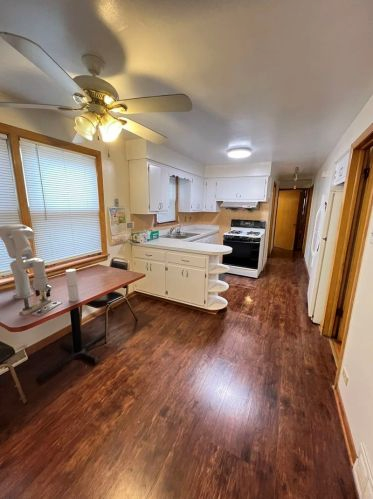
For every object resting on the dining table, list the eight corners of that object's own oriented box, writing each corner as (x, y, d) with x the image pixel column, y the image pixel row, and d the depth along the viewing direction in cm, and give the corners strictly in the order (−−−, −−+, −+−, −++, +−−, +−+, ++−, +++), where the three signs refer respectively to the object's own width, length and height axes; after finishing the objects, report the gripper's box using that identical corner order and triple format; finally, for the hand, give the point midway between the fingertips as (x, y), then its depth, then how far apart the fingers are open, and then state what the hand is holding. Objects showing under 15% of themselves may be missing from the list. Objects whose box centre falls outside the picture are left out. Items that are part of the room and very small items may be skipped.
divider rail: (19, 314, 148) (17, 301, 145) (45, 300, 169) (44, 289, 167) (25, 315, 147) (23, 302, 145) (51, 301, 168) (49, 289, 166)
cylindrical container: (67, 300, 169) (63, 271, 164) (74, 296, 176) (71, 268, 171) (73, 301, 167) (70, 272, 162) (80, 298, 174) (77, 269, 168)
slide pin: (39, 300, 163) (37, 290, 161) (42, 299, 166) (41, 288, 164) (44, 301, 162) (43, 290, 160) (48, 299, 165) (46, 289, 163)
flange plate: (31, 314, 147) (31, 313, 147) (54, 302, 166) (54, 301, 166) (40, 316, 146) (39, 314, 145) (61, 303, 165) (61, 301, 164)
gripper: (26, 276, 157) (29, 297, 161) (45, 278, 154) (48, 299, 158) (35, 273, 165) (38, 293, 168) (53, 274, 161) (56, 295, 165)
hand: (43, 296), depth 163 cm, fingers open, 9 cm apart
